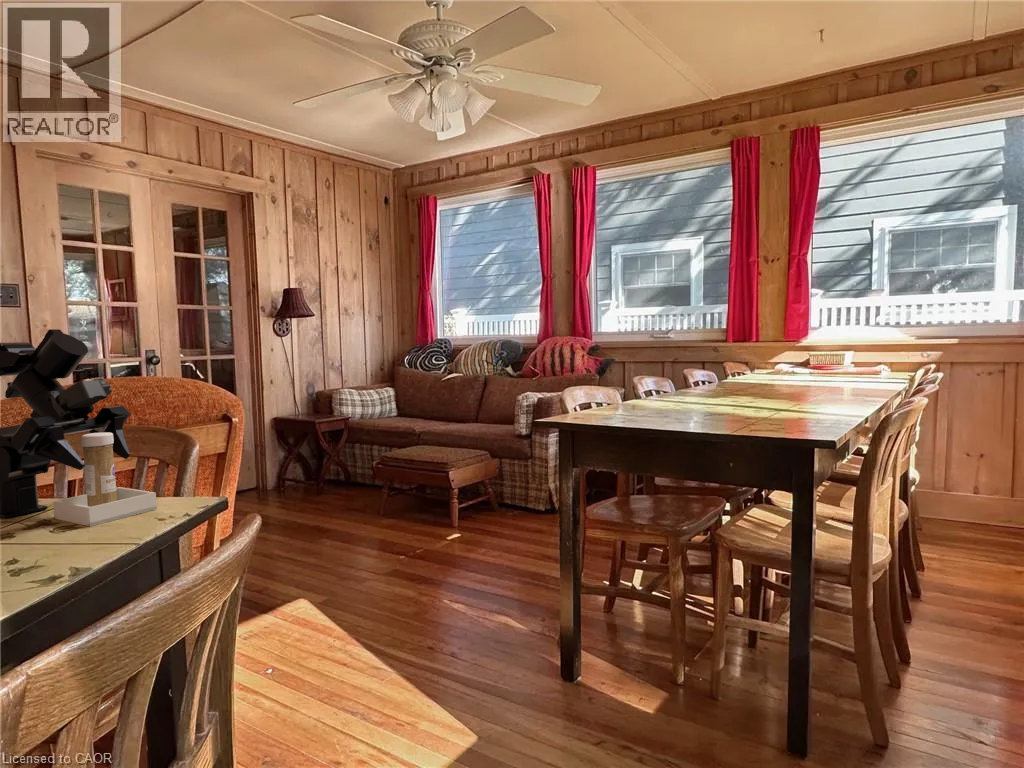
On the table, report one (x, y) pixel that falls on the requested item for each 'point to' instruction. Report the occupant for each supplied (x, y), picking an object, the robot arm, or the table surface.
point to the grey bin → (104, 507)
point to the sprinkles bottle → (99, 468)
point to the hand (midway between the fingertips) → (106, 462)
